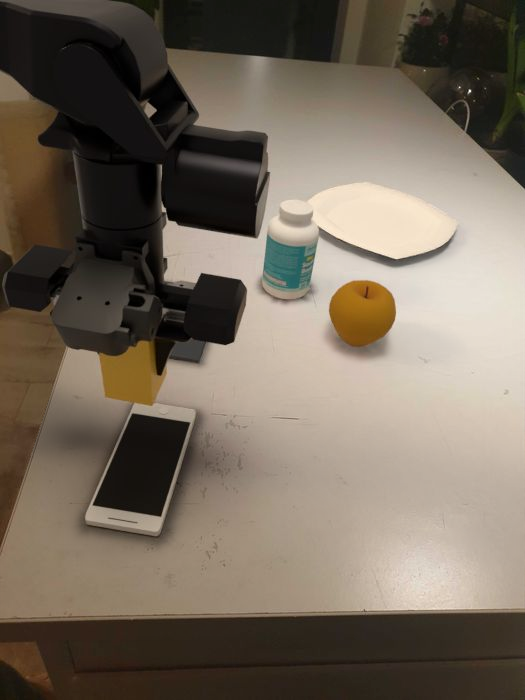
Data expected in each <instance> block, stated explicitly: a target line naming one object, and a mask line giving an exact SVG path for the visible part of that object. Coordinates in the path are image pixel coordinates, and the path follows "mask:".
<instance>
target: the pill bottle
mask: <svg viewBox="0 0 525 700" xmlns="http://www.w3.org/2000/svg"><path fill="white" fill-rule="evenodd" d="M278 213H279V214H277V215H275V216H274V217H272V218H271V219H270V221H269V222H268V226H267V230H266V231H267V232H266V240H265V251H264V260H263V269H262V277H261V284H262V287H263V289H264V290H265V291H266V292H267V293H268V294H270V295H271V296H273V297H275V298H278V299H283V300H295V299H299V298H302V297H303V296H305V295H306V294H307V293H308V292H309V289H310V286H311V282H312V281H311V280H312V276H313V271H314V265H315V264H314V263H315V260H316V254H317V248H318V243H319V236H320V228H319V227H318V225H317V224H316V222H315V221H314V220H312V217H313V207H312V205H310V204H309V203H307V201H305V200H300V199H286V200H283V201H282V202H280V205H279V210H278Z"/></svg>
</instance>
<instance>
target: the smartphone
mask: <svg viewBox="0 0 525 700" xmlns="http://www.w3.org/2000/svg"><path fill="white" fill-rule="evenodd" d="M196 417H197V412H196V409H194V408H188V407H181V406H176V405H171V404H170V405H169V404H163V403H157V402H154V404H153V406H149V405H143V404H138V403H133V405H132V407H131V409H130V412H129V414H128V416H127V418H126V420H125V423H124V426H123V427H122V430H121V432H120V434H119V437H118V439H117V441H116V444H115V446H114V449H113V450H112V453H111V455H110V458H109V460H108V461H107V464H106V467H105V469H104V471H103V473H102V476H101V478H100V480H99V482H98V485H97V487H96V490H95V492H94V494H93V496H92V499H91V501H90V503H89V505H88V508H87V510H86V513H85V516H84V519H85V524H86V525H88V526H93V527H99V528H105V529H110V530H117V531H123V532H128V533H135V534H140V535H146V536H152V537H158V536H160V534H161V533H162V530H163V527H164V523H165V520H166V516H167V514H168V510H169V507H170V504H171V501H172V497H173V494H174V491H175V487H176V485H177V481H178V478H179V475H180V471H181V467H182V464H183V462H184V458H185V455H186V451H187V448H188V444H189V442H190V438H191V435H192V431H193V428H194V424H195V422H196Z"/></svg>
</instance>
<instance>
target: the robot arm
mask: <svg viewBox="0 0 525 700" xmlns="http://www.w3.org/2000/svg"><path fill="white" fill-rule="evenodd" d="M155 23H156V22H155V21H154V19H153V17H151V16H150V15H149V14H148V13H147V12H146V11H145V10H143V9H141V8H139V7H138V6H136V5H134V4H131V3H128V2H123V1H115V0H0V72H1V73H3V74H4V75H7V76H9V77H10V78H11V79H13V80H14V81H15V82H16V83H18V84H19V86H20V87H21V88H23V90H25V91H26V92H27V93H28V94H29V95H30V96H31V97H32V98H34V99H35V100H36V101H37V102H40V103H41V104H43V105H46V106H48V107H50V108H52V109H53V110H55V111H57V112H56V115H55V117H54V118H53V121H52V122H51V123H50V124H49V125H48V127H47V128H46V129H45V130H44V131H42V132H41V133H39V134H38V135H37V142H38V144H39V145H40V146H41V147H45V148H51V149H58V150H66V151H69V152H72V157H73V158H72V159H73V164H74V171H75V172H74V173H75V178H76V186H77V193H78V200H79V208H80V214H81V215H80V216H81V223H82V229H81V230H80V231H79V233H78V234H77V235H76V236H75V243H76V244H75V246H74V249H75V251H74V250H71V249H65V248H59V247H53V246H49V245H48V246H47V245H43V244H36V243H35V244H33V245H32V247H30V248H29V249H28V250H27V251H26V252H25V253H24V254H23V255H22V256H21V257H20V258H19V259H18V260H17V261H16V262H15V263H14V264H13V265H12V266H11V267H10V268H9V269H8V270H7V271H6V272H5V273H4V274H3V277H2V283H1V286H2V287H1V288H2V290H3V294H4V297H5V302H6V303H7V305H8V307H9V308H14V309H21V310H27V311H32V312H37V313H41V312H43V311H44V310H45V309H47V307H49V305H50V304H51V303H52V304H53V308H52V309H51V311H50V312H49V316H50V321H51V322H52V324H53V326H54V327H55V329H56V331H57V332H58V334H59V336H60V337H61V339H62V341H63V343H64V344H65V345H66V347H68V348H69V349H71V350H76V351H79V350H83V351H88V352H94V353H96V354H97V355H98V356H99V353H103V354H105V355H108V356H119V355H122V354H124V353H125V352H126V351H127V350H128V348H129V346H131V347H136V346H137V344H138V342H139V341H148V342H151V341H152V340H154V338H156V339H157V352H156V369H157V375H159V376H161V375H162V373H163V371H164V369H165V366H166V364H167V365H168V362H169V359H170V358H169V356H170V354H171V352H172V349H173V347H174V345H175V344H176V343H177V342H182V343H187V342H189V341H191V340H192V339H193V340H198V341H204V342H206V343H211V344H216V345H220V346H228V345H230V344H233V343H235V341H236V337H237V336H238V335H237V334H238V331H239V328H240V325H241V322H242V319H243V315H244V312H245V309H246V306H247V296H248V289H247V287H246V285H245V283H244V282H243V280H242V279H240V278H235V277H234V278H233V277H229V276H223V275H216V274H210V273H204V272H200V274H199V276H198V278H197V281H196V282H191V281H186V280H177V281H175V282H172V283H173V284H171V283H165V282H164V281H165V274H166V273H167V270H168V268H169V267H168V257H165V256H164V229H165V227H166V226H167V221H169V222H174V223H175V224H176V225H177V226H179V227H183V228H184V227H185V228H191V229H198V230H203V231H208V232H213V233H221V234H226V235H233V236H238V237H244V238H250V239H256V240H257V239H258V238H259V236H260V234H261V231H262V226H263V223H264V219H265V213H266V209H267V202H268V195H269V187H270V180H271V171H269V153H268V152H267V150H268V142H269V141H268V140H269V136H268V134H267V133H266V132H263V131H257V130H256V131H255V130H239V131H238V130H237V131H236V130H229V129H222V128H216V127H210V126H204V125H203V126H202V125H197V124H196V122H197V121H198V120H199V118H200V112H199V111H198V110H197V108H196V106H195V104H194V103H193V101H192V99H191V98H190V97H189V95H188V93H187V92H186V90H185V88H184V87H183V85H182V83H181V82H180V80H179V79H178V77H177V76H176V74H175V72H174V71H173V69H172V68H171V66H170V64H169V62H168V59H169V58H168V52H167V47H166V45H165V41H164V37H163V36H162V35H161V33H160V31H159V29H158V28H157V26H156V24H155ZM147 103H148V104H149V105H151V107H152V108H153V109H155V110H156V111H155V112H154V113H152V114H151V115H150V116H148V115H147V113H146V111H145V110H144V108H143V106H144V105H146V104H147ZM163 208H164V209H165V211H163ZM162 315H164V316H163V318H162V320H161V317H162ZM160 320H161V322H160ZM159 323H160V324H159Z"/></svg>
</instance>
